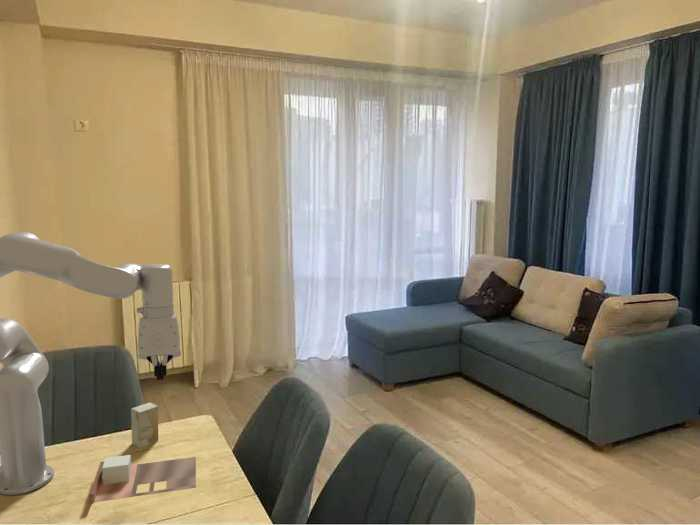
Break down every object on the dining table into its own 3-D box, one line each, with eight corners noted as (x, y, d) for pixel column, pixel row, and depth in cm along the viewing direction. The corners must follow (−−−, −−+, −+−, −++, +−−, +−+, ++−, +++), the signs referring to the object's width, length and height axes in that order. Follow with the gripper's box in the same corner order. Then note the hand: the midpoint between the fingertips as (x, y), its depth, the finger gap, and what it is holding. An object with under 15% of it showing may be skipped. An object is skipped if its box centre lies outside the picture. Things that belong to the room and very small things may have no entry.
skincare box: (139, 453, 147) (137, 412, 145) (131, 448, 150) (129, 408, 148) (160, 444, 152) (158, 405, 150) (151, 440, 155) (150, 401, 153)
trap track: (90, 508, 122) (89, 494, 122) (101, 474, 136) (100, 462, 136) (196, 492, 129) (195, 479, 128) (195, 461, 143) (195, 450, 143)
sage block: (103, 484, 129) (102, 468, 128) (106, 474, 134) (105, 457, 133) (129, 481, 131) (128, 464, 130) (131, 470, 135) (130, 454, 135)
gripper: (125, 316, 130) (128, 385, 132) (187, 313, 133) (189, 381, 136) (130, 309, 137) (132, 375, 140) (189, 307, 141) (190, 371, 143)
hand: (160, 378), depth 138 cm, fingers closed
